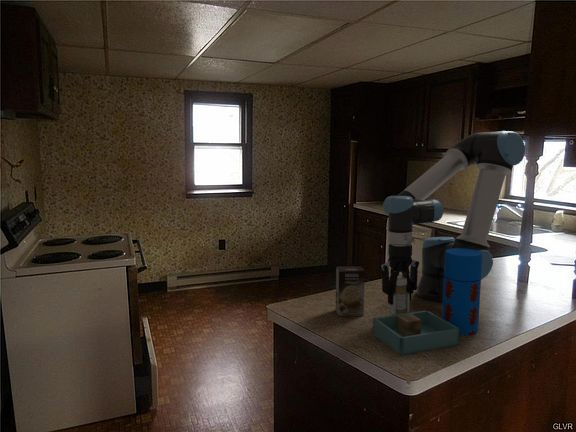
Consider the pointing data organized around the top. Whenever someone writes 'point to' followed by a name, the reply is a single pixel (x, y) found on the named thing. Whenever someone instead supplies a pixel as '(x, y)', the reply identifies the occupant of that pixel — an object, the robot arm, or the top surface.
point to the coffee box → (350, 291)
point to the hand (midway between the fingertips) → (399, 311)
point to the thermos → (462, 289)
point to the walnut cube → (409, 325)
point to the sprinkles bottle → (400, 295)
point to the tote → (432, 334)
